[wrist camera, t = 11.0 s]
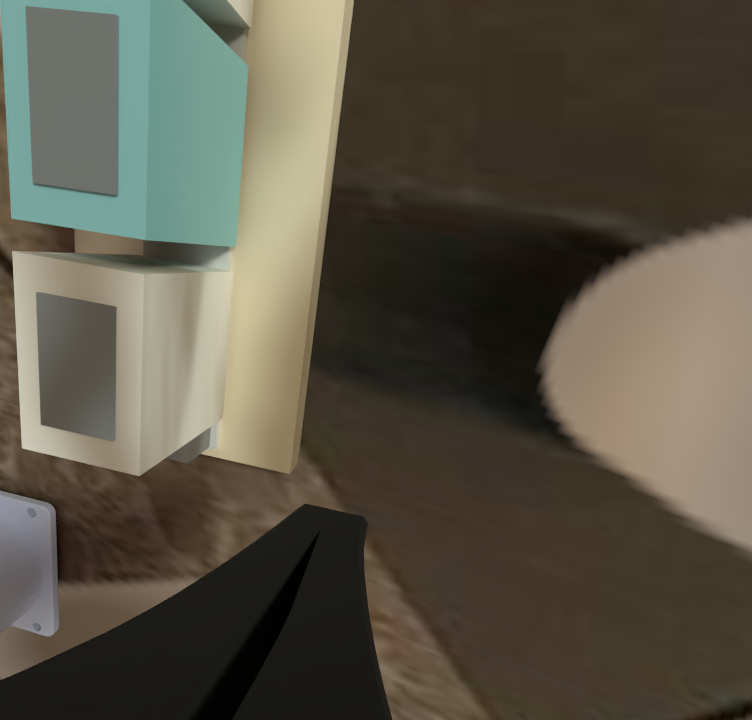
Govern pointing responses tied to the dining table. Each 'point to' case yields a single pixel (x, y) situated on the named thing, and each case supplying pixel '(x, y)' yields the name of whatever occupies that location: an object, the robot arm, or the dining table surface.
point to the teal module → (123, 119)
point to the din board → (277, 224)
